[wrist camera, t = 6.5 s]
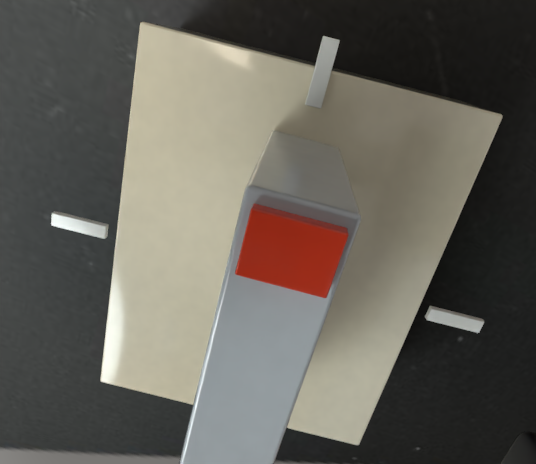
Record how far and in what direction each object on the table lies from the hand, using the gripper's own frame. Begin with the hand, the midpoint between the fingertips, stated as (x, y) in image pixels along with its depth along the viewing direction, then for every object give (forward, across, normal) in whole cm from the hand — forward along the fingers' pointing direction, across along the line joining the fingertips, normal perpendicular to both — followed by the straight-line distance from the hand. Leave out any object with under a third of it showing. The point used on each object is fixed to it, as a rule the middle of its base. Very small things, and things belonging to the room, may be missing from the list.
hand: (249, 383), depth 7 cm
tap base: (+7, 0, 0) cm, 7 cm away
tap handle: (+4, 0, 0) cm, 4 cm away
